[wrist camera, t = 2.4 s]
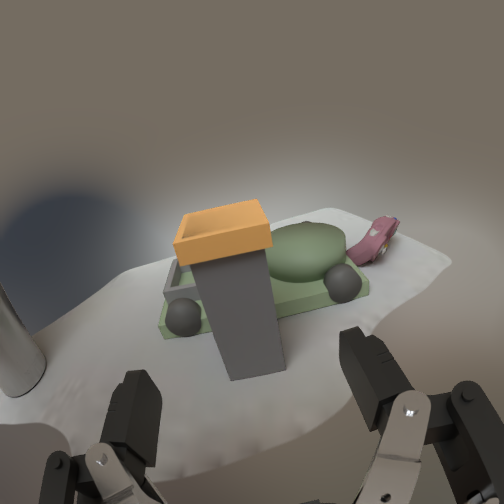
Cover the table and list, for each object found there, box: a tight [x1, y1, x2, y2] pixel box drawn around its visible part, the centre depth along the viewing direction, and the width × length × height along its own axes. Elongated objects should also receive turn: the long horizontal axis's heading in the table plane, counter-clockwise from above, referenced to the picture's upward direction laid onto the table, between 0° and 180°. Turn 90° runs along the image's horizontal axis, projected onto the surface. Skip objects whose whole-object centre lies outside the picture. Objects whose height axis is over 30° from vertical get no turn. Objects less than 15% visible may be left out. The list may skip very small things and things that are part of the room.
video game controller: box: [346, 214, 400, 266], centre depth 37 cm, size 10×5×7 cm, turn 136°
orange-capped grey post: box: [173, 199, 286, 381], centre depth 22 cm, size 6×6×14 cm
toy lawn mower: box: [158, 221, 369, 339], centre depth 36 cm, size 24×16×5 cm
